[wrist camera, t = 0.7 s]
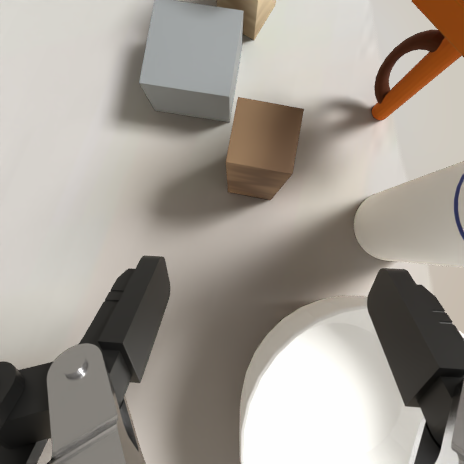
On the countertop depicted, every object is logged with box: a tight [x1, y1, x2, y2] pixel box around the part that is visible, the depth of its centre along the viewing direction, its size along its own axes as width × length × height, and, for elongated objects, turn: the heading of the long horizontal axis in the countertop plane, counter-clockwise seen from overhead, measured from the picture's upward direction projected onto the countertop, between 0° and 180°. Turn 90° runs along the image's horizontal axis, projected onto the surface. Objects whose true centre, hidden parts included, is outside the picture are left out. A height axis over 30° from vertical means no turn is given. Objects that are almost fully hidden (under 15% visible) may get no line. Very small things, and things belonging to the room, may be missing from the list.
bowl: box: [239, 296, 464, 464], centre depth 23 cm, size 20×20×8 cm
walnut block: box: [226, 97, 304, 200], centre depth 23 cm, size 4×4×10 cm
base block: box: [139, 0, 244, 122], centre depth 26 cm, size 8×8×5 cm
